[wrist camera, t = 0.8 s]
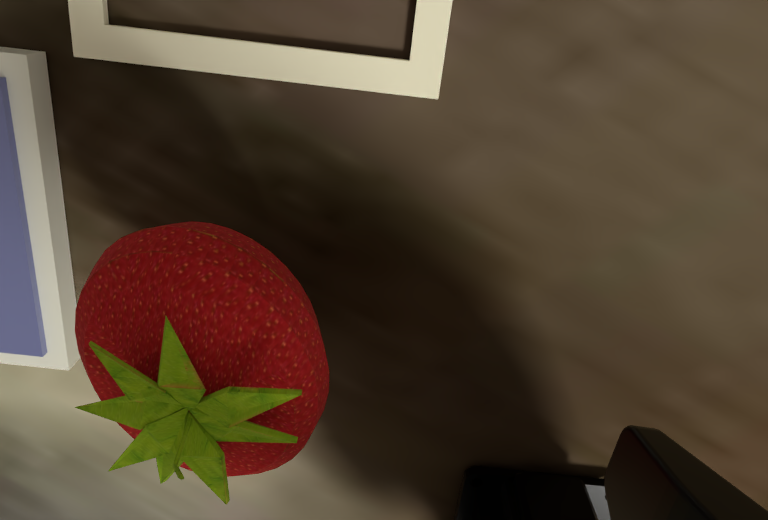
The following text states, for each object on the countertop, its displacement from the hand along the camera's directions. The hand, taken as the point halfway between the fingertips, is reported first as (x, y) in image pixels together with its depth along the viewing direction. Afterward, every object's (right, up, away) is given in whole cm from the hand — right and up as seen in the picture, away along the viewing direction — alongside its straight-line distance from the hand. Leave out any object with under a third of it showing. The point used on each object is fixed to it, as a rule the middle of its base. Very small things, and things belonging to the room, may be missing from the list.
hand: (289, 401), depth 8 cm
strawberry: (-3, +2, +13) cm, 14 cm away
